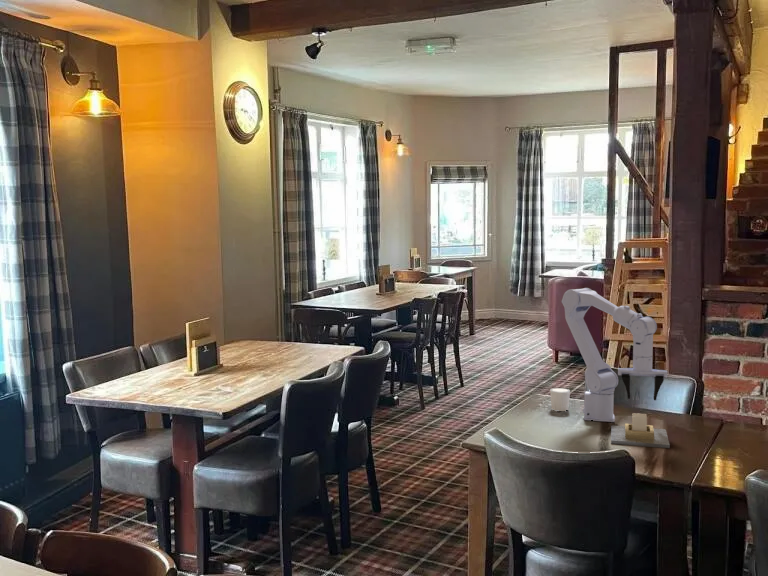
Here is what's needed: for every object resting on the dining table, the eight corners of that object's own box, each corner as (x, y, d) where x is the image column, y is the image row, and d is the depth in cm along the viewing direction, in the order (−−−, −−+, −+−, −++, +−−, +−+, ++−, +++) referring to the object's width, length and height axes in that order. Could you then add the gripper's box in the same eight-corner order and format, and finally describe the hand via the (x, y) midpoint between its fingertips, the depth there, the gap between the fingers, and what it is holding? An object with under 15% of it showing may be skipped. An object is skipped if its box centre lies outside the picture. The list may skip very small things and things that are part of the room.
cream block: (632, 436, 215) (632, 416, 215) (631, 432, 219) (632, 413, 219) (646, 437, 214) (646, 417, 214) (645, 433, 218) (646, 414, 217)
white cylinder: (571, 408, 252) (572, 388, 251) (568, 413, 246) (568, 392, 245) (552, 406, 255) (552, 386, 254) (547, 411, 248) (548, 391, 248)
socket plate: (611, 443, 212) (611, 433, 211) (611, 428, 227) (611, 419, 227) (669, 448, 207) (669, 438, 207) (665, 432, 222) (665, 422, 222)
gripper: (618, 357, 223) (617, 400, 225) (668, 359, 219) (667, 403, 220) (618, 353, 230) (617, 395, 231) (667, 355, 226) (665, 397, 227)
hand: (641, 398), depth 226 cm, fingers open, 7 cm apart
